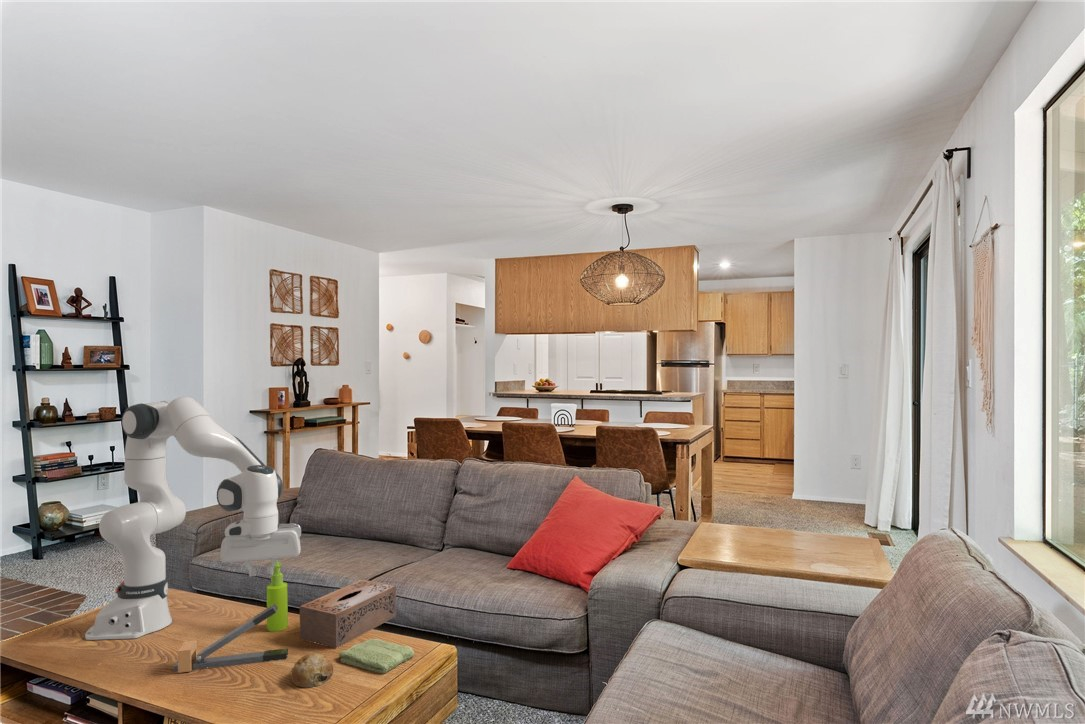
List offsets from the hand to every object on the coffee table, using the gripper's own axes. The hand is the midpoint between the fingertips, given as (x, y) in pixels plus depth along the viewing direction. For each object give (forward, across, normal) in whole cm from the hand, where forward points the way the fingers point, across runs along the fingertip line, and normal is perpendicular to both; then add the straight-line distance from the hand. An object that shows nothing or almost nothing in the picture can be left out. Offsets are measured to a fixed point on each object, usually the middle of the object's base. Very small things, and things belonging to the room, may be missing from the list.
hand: (261, 575), depth 175 cm
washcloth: (+24, -30, +8) cm, 39 cm away
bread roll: (+24, -14, +15) cm, 31 cm away
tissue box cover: (+24, -22, -16) cm, 36 cm away
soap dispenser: (+23, 0, -22) cm, 32 cm away
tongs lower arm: (+23, +8, 0) cm, 24 cm away
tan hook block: (+23, +19, 0) cm, 30 cm away
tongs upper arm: (+16, +6, 0) cm, 17 cm away
